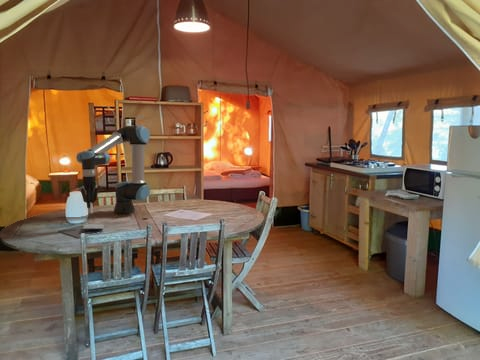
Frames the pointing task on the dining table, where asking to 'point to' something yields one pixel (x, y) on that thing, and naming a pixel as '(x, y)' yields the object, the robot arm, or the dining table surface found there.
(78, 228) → the rubber mat
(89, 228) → the ink box
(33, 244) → the dining table surface
